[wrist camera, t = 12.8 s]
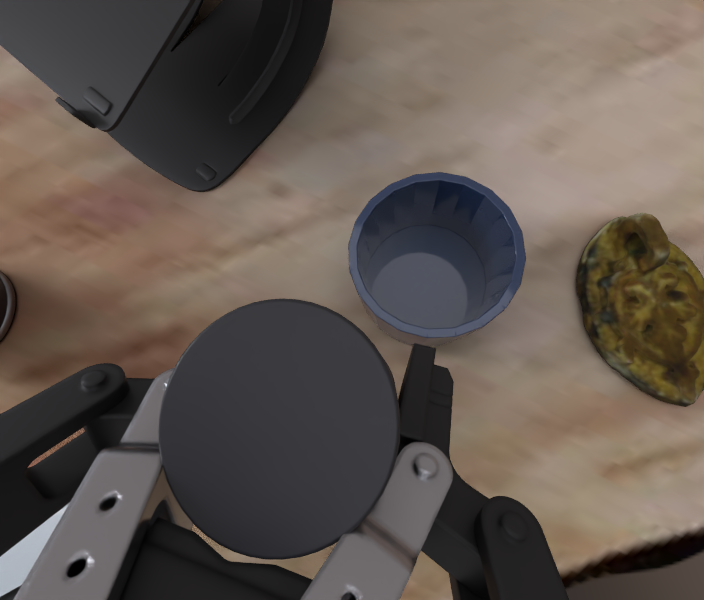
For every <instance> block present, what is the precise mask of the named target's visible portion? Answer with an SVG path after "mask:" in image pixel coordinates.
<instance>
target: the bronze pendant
mask: <svg viewBox="0 0 704 600" xmlns="http://www.w3.org/2000/svg"><path fill="white" fill-rule="evenodd" d="M576 280H577V291H578V295H579V298H580V301H581V304H582V307H583V312H584V324H585V328H586V330H587V331H588V333H589V335H590V337H591V339H592V341H593V343H594V344H595V346H596V348H597V350H598V352H599V353H600V355H601V356H602V357H603V358H604V359H605V360H606V362H607V363H608V364H609V365H610V366H611V367H612V368H613V369H615V370H617V371H618V372H620V373H621V374H622V376H623V377H625V378H626V379H628V380H629V381H631V382H632V383H633V384H634V385H636V386H637V387H638V388H639V389H640V390H642V391H644V392H646V393H648V394H649V395H651V396H653V397H655V398H656V399H658V400H661V401H663V402H666V403H670V404H674V405H679V406H684V407H686V406H688V405H691V404H693V403H694V402H695V401H696V400H697V399H698V397H699V396H700V394H701V393H702V391H703V390H704V278H703V276H702V275H701V273H700V271H699V270H698V268H697V267H696V266H695V265H694V263H693V262H692V260H691V259H690V258H689V257H688V256H687V255H686V254H685V253H684V252H682V251H681V250H680V249H679V248H678V247H677V246H676V245H674V244H672V243H671V242H669V241H668V238H667V235H666V234H665V232H664V230H663V229H662V227H661V224H660V222H659V221H658V220H657V218H655V217H654V216H653V215H650V214H646V213H639V214H634V215H631V216H629V217H623V216H622V217H618V218H615V219H613V220H612V221H610V222H609V223H607V224H606V225H605V226H604V227H603V228H602V229H601V230H600V231H599V232H598V233H597V234H596V235H595V237H594V238H592V240H591V241H590V242H589V244H588V245H587V246H586V249H585V250H584V253H583V255H582V257H581V261H580V264H579V267H578V275H577V279H576Z"/></svg>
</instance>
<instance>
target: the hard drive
mask: <svg viewBox="0 0 704 600" xmlns="http://www.w3.org/2000/svg"><path fill="white" fill-rule="evenodd" d="M68 505H69V503H68V504H67V505H66V506H64V507H63V508H62V509H61V510H59V511H58V512H57V513H56V514H54V515H53V516H52V517H50V518H49V519H48V520H47V521H45V522H44V523H43V524H41V525H40V526H39V527H38V528H36V529H35V530H34V531H33V532H31V533H30V534H29V535H27V536H26V537H25V538H24V539H22V540H21V541H20V542H18V543H17V544H16V545H15V546H13V547H12V548H11V549H10V550H8V551H7V552H6V553H4V554H3V555H2V556H1V557H0V597H1V596H3V595H4V594H6V593H8V592H10V591H11V590H13V589H15V588H17V587H19V586H20V585H22V584H23V582H24V581H25V579H26V577H27V575H28V574H29V572H30V570H31V568H32V567H33V565H34V563H35V562H36V560H37V558H38V556H39V555H40V553H41V551H42V550H43V548H44V546H45V544H46V543H47V541H48V539H49V538H50V536H51V534H52V532H53V531H54V529H55V527H56V525H57V524H58V522H59V520H60V519H61V517H62V515H63V513H64V512H65V510H66V508H67V507H68Z"/></svg>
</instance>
